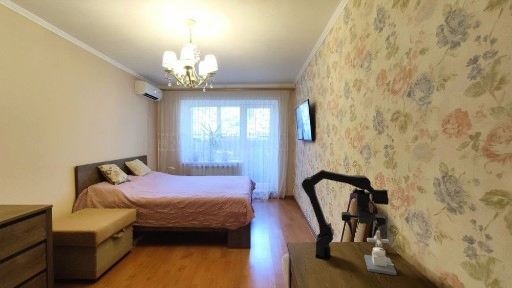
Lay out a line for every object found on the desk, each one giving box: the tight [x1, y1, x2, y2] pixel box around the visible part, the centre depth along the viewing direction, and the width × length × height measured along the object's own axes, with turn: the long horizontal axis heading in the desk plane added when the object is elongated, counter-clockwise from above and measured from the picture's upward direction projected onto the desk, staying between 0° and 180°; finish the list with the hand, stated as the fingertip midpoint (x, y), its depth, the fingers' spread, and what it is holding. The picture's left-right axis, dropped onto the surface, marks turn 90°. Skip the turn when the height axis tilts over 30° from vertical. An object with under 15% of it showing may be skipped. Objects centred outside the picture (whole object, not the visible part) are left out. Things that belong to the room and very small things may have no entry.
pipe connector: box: [366, 230, 390, 248], centre depth 127 cm, size 10×10×10 cm
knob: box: [371, 246, 387, 266], centre depth 112 cm, size 5×5×6 cm
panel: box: [363, 254, 398, 276], centre depth 112 cm, size 12×13×5 cm
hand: (362, 236), depth 116 cm, fingers open, 9 cm apart
